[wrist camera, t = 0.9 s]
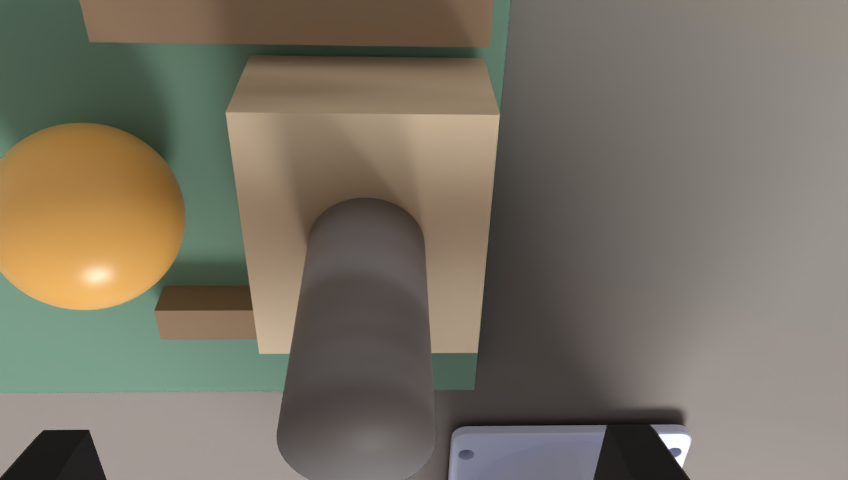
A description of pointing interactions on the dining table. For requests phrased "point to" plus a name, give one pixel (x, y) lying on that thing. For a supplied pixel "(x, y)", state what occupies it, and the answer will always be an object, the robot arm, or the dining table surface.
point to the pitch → (189, 167)
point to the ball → (87, 216)
